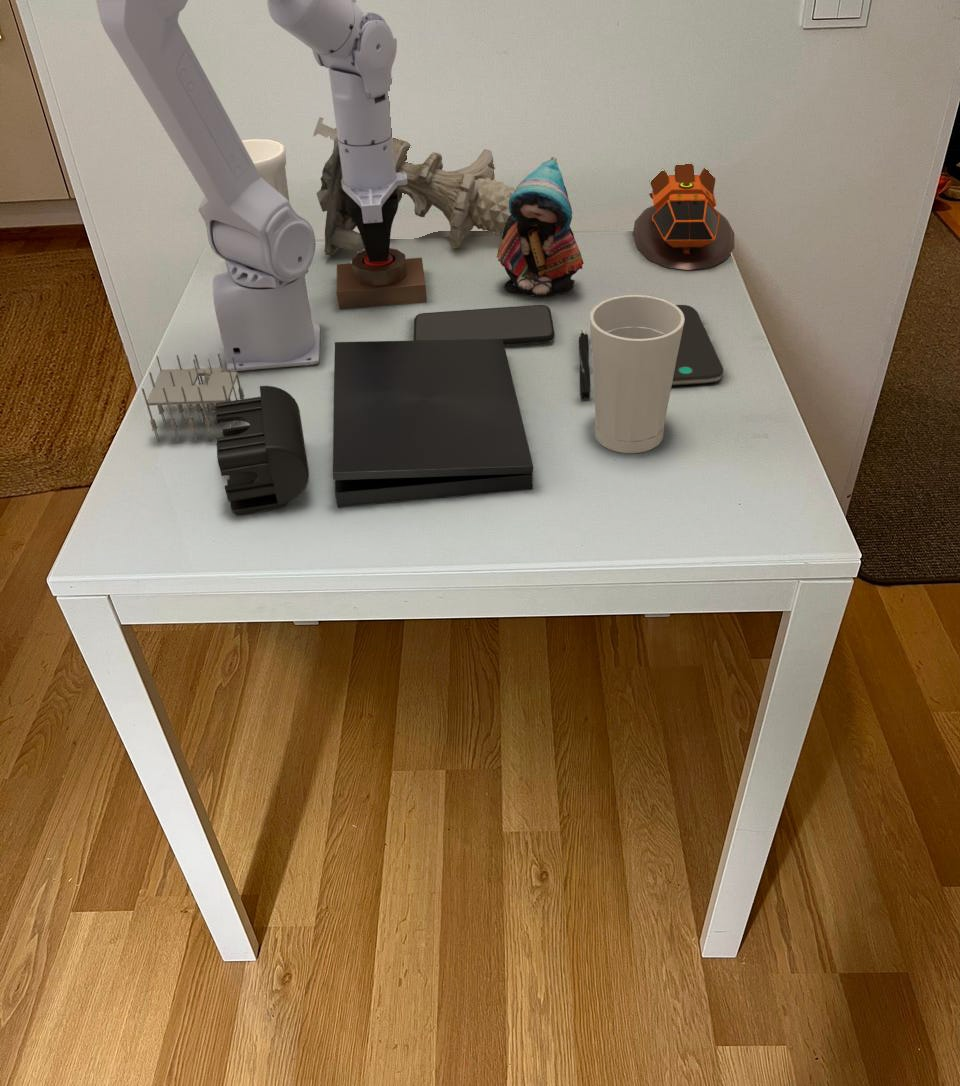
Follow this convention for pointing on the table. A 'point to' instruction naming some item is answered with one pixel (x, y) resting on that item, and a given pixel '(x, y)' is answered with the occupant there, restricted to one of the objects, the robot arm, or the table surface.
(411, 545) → the table surface
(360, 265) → the switch block
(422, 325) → the smartphone
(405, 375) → the laptop screen
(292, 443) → the end cap
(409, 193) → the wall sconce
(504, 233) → the figurine
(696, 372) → the smartphone
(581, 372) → the black pen
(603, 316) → the cup
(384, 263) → the button
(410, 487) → the laptop
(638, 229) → the toy spacecraft
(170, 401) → the building frame
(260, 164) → the cup
